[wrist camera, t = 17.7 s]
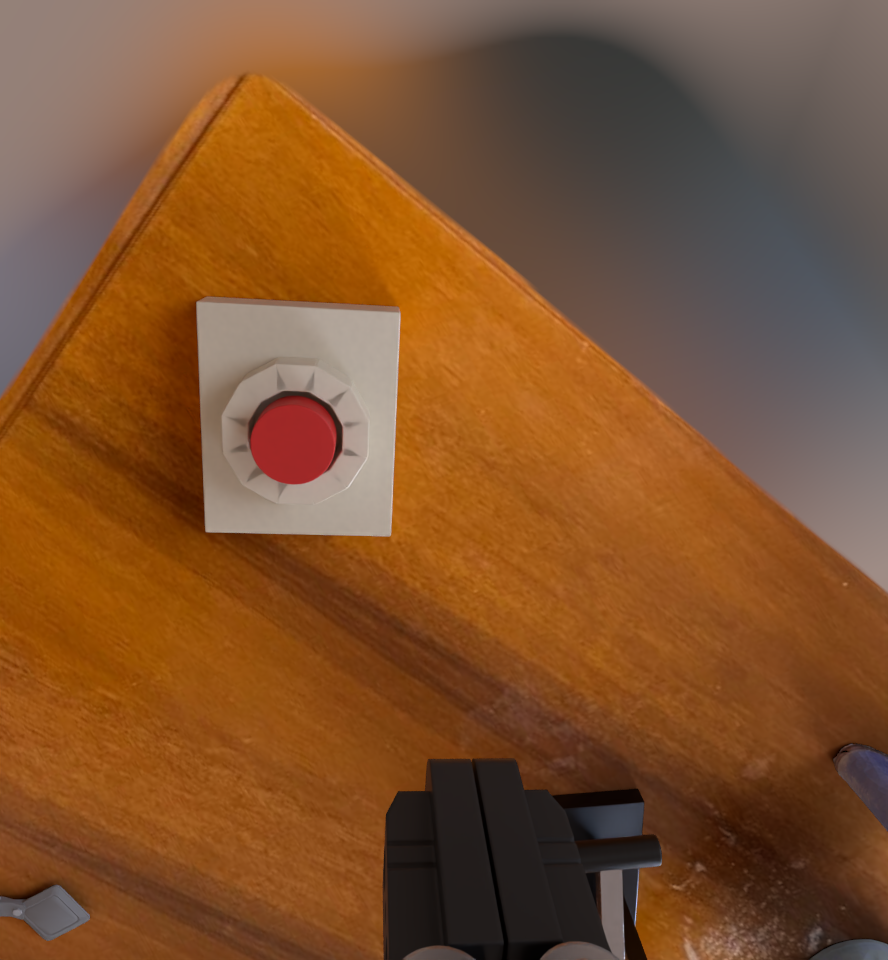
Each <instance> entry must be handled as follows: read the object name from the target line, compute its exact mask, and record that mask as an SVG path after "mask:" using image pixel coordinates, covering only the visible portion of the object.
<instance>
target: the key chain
mask: <svg viewBox="0 0 888 960" xmlns="http://www.w3.org/2000/svg"><path fill="white" fill-rule="evenodd" d="M0 916H11V917H14V918H18V919H23V920H24V921H25V922H26V923H27V924H29V925H30V926H31V927H32V928H33V929H34V930H35V931H36V932H37V933H38V934H39V935H40V936H41V937H42V938H43V939H45V940H47V941H49V940H53V939H55V938H57V937H58V936H60V935H62V934H64V933H66V932H68V931H70V930H72V929H74V928H76V927H78V926H80V925H81V924H83V923H85V922H87V921H88V920H89V919H90V915H89V914H88V913H87V912H86V911H85V910H84V909H83V908H82V907H81V906H80V905H79V904H78V903H77V902H76V901H75V900H74V899H73V898H72V897H71V896H70V895H69V894H68V893H67V892H66V891H65V890H64V889H63V888H62V887H61V886H59V885H53V886H51V887H49V888H47V889H45V890H44V891H42V892H40V893H38V894H36V895H34V896H32V897H30V898H28V899H11V898H7V897H3V896H0Z"/></svg>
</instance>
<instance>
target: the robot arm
mask: <svg viewBox="0 0 888 960" xmlns="http://www.w3.org/2000/svg"><path fill="white" fill-rule="evenodd" d="M383 937H384V960H620V959H619V958H618V957H616V956H615V955H614V954H613V953H612V952H611V949H610V947H609V944H608V942H607V939H606V935H605V932H604V929H603V926H602V923H601V920H600V917H599V914H598V911H597V907H596V904H595V901H594V898H593V895H592V892H591V889H590V886H589V883H588V879H587V876H586V873H585V870H584V867H583V864H581V858H580V855H579V851H578V848H577V845H576V843H574V836H573V833H572V830H571V827H570V823H569V820H568V817H567V814H566V812H565V810H564V809H563V808H562V807H561V806H560V805H559V803H558V802H557V801H556V800H555V799H554V798H553V797H552V795H551V794H550V793H549V792H548V791H547V790H524V788H523V784H522V780H521V777H520V773H519V769H518V765H517V762H516V760H515V759H514V758H491V759H472V762H471V760H470V759H428V761H427V770H426V785H425V791H398V793H397V794H396V796H395V798H394V800H393V802H392V804H391V806H390V808H389V810H388V812H387V814H386V826H385V847H384V868H383Z"/></svg>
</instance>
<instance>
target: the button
mask: <svg viewBox="0 0 888 960" xmlns="http://www.w3.org/2000/svg"><path fill="white" fill-rule="evenodd" d="M336 439H337V433H336V426H335V423H334V421H333V419H332V417H331V415H330V414H329V412H328V411H327V410H326V409H325V408H324V407H323V406H322V405H321V404H319V403H318V402H316V401H314V400H312V399H310V398H307V397H303V396H286V397H282V398H280V399H277V400H275V401H274V402H272V403H270V404H269V405H268V406H267V407H266V408H265V409H264V410H263V412H262V413H261V415H260V416H259V418H258V420H257V422H256V424H255V425H254V427H253V430H252V433H251V438H250V448H251V453H252V456H253V459H254V461H255V462H256V464H257V466H258V467H259V468H260V469H261V470H262V472H263V473H265V474H266V475H267V476H268V477H270V478H272V479H274V480H276V481H278V482H281V483H285V484H292V485H294V484H304V483H307V482H310V481H312V480H314V479H316V478H318V477H319V476H321V475H322V474H323V473H324V472H325V471H326V470H327V468H328V467H329V465H330V464H331V462H332V459H333V456H334V452H335V446H336Z"/></svg>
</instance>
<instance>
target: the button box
mask: <svg viewBox="0 0 888 960" xmlns="http://www.w3.org/2000/svg"><path fill="white" fill-rule="evenodd" d="M196 316H197V340H198V365H199V390H200V415H201V439H202V464H203V489H204V514H205V531H206V532H220V533H263V534H307V535H350V536H391V523H392V500H393V476H394V453H395V430H396V407H397V384H398V360H399V337H400V310H399V307H394V306H376V305H357V304H338V303H319V302H300V301H282V300H263V299H244V298H225V297H205V298H203V299H201V300H199V301H197V302H196ZM286 396H303V397H307V398H310V399H312V400H314V401H316V402H318V403H319V404H321V405H322V406H323V407H324V408H325V409H326V410H327V411H328V412H329V414H330V415H331V417H332V419H333V421H334V423H335V426H336V433H337V439H336V446H335V452H334V456H333V459H332V462H331V464H330V465H329V467H328V468H327V470H326V471H325V472H324V473H323V474H322V475H321V476H319V477H318V478H316V479H314V480H312V481H310V482H307V483H304V484H294V485H292V484H285V483H281V482H278V481H276V480H274V479H272V478H270V477H268V476H267V475H266V474H265V473H263V472H262V470H261V469H260V468H259V467H258V466H257V464H256V462H255V461H254V459H253V456H252V453H251V448H250V438H251V433H252V430H253V427H254V425H255V424H256V422H257V420H258V418H259V416H260V415H261V413H262V412H263V410H264V409H265V408H266V407H267V406H268V405H269V404H270V403H272V402H274V401H275V400H277V399H280V398H282V397H286Z"/></svg>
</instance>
